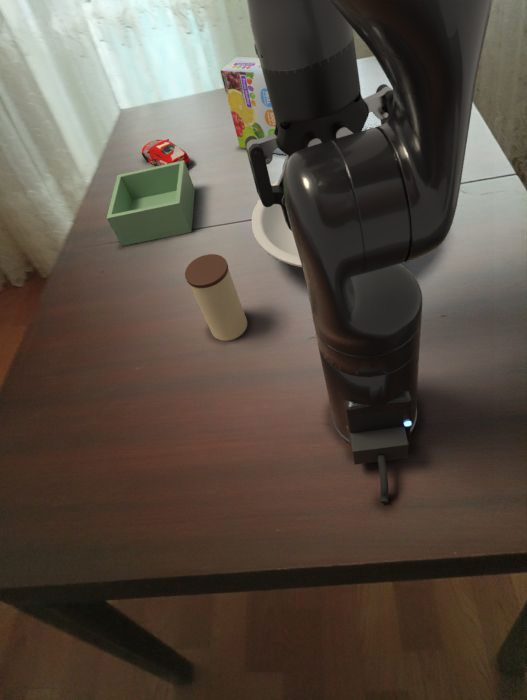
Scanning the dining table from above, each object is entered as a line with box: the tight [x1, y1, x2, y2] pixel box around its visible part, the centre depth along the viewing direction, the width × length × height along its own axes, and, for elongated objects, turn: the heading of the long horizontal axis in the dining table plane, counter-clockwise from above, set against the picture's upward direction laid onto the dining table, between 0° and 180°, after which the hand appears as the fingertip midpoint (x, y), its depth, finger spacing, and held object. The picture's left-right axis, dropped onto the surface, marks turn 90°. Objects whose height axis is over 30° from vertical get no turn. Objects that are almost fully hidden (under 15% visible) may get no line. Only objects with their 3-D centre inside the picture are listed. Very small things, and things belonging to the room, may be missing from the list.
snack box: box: [219, 56, 287, 156], centre depth 88 cm, size 21×6×15 cm, turn 58°
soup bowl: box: [251, 179, 302, 268], centre depth 73 cm, size 24×24×7 cm
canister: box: [184, 253, 248, 342], centre depth 65 cm, size 5×5×11 cm
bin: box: [106, 160, 196, 247], centre depth 87 cm, size 13×13×6 cm
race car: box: [141, 138, 191, 167], centre depth 99 cm, size 13×5×4 cm, turn 39°
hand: (338, 214), depth 51 cm, fingers open, 8 cm apart
